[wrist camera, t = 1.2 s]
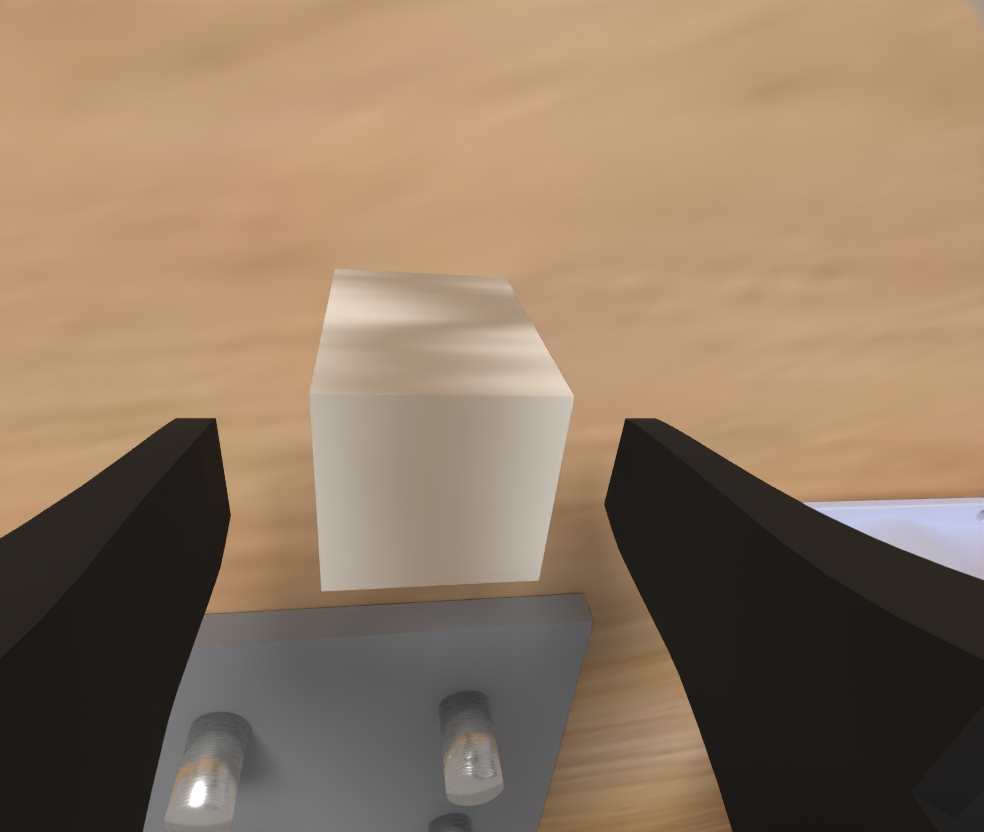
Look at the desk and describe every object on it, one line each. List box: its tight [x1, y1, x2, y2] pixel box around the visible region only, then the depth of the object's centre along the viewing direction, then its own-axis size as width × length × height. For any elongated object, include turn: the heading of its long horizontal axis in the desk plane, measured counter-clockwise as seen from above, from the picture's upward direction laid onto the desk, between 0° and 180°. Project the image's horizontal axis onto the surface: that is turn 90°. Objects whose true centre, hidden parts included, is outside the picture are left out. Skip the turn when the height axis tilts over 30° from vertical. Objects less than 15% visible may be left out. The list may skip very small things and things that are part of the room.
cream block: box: [310, 269, 574, 591], centre depth 12 cm, size 4×4×6 cm
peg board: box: [143, 593, 594, 832], centre depth 21 cm, size 16×16×4 cm
